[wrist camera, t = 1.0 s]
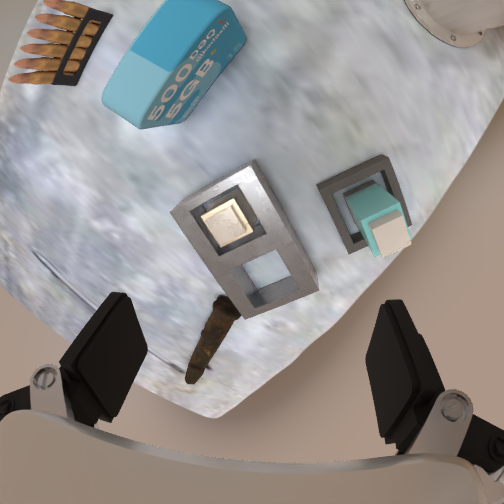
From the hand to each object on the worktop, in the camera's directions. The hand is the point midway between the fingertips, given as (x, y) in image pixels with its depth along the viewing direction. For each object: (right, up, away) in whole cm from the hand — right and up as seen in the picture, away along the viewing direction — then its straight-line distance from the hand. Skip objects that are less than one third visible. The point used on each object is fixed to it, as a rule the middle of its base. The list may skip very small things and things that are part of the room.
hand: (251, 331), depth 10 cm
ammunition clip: (-21, +29, +15) cm, 39 cm away
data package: (-6, +23, +16) cm, 28 cm away
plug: (+13, +9, +21) cm, 26 cm away
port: (0, +5, +25) cm, 25 cm away
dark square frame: (+13, +9, +21) cm, 26 cm away
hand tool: (-6, -11, +34) cm, 36 cm away
